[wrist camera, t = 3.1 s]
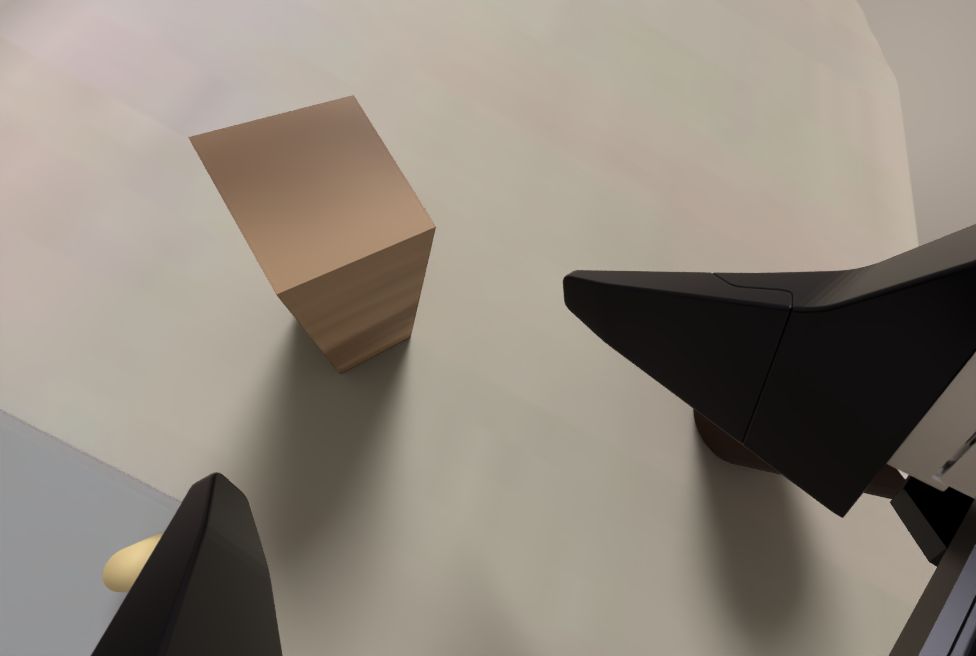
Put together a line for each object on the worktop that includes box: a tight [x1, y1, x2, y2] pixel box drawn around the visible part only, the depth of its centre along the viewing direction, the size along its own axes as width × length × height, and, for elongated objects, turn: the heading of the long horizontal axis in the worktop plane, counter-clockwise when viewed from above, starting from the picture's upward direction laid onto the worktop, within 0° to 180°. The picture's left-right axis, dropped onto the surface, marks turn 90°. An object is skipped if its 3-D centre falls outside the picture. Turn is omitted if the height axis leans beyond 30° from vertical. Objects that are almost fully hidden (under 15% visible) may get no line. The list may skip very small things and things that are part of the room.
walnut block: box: [188, 95, 436, 374], centre depth 15 cm, size 4×4×12 cm
